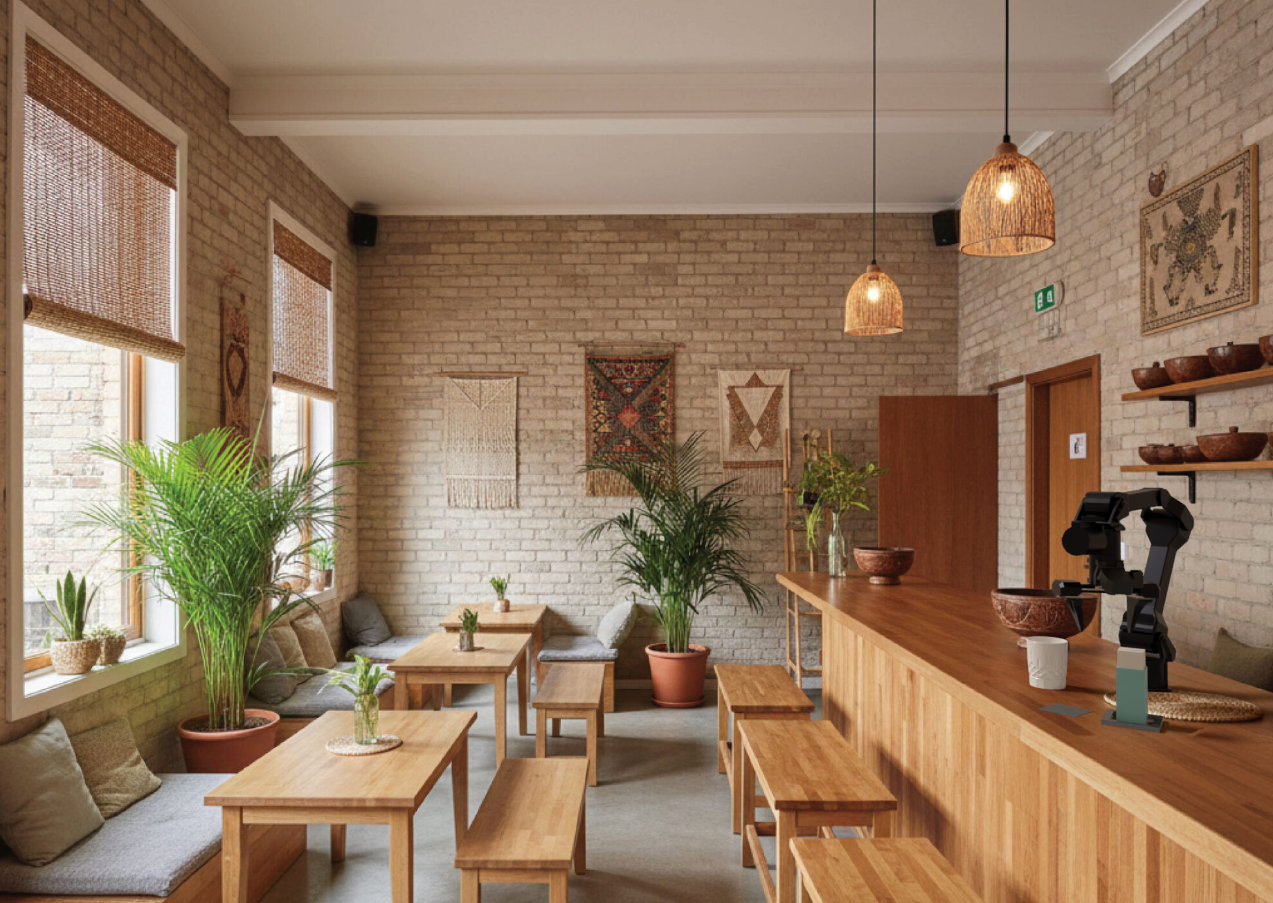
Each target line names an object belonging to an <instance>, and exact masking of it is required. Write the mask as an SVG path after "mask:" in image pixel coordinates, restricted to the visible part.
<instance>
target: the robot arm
mask: <svg viewBox="0 0 1273 903" xmlns="http://www.w3.org/2000/svg"><path fill="white" fill-rule="evenodd" d="M1156 507H1158V508H1156ZM1160 507H1161V508H1160ZM1152 508H1153V509H1152ZM1139 510H1141V512H1140V515H1139V516H1140V519H1141V520H1142V522H1143V523H1144V525H1145V534H1146V536H1147V539H1148V541H1149V543H1150V547H1149V550H1148V555H1147V560H1146V564H1145V567H1144V572H1143V570H1141V569H1130V570H1126V568H1125V563H1124V562H1125V561H1124V560H1122V544H1121V543H1122V536H1121V535H1122V532H1125V531H1127V528H1126V527H1125V525H1124V524H1122V523H1121V521H1122V520H1123V519H1125V518H1127V517H1129V516H1130V513H1131V512H1135V511H1139ZM1070 523H1071V524H1070V525H1071V526H1070V527H1068V528H1067V529H1066V530H1065V531H1064V532H1063V535H1062V537H1061V545H1062V547H1063V549H1064V551H1065V552H1067V554H1069V555H1071V556H1075V557H1079V556H1080V557H1081V556H1088V557H1086V563H1088V577H1086V583H1081V582H1080V581H1077V580H1074V579H1059V578H1058V579H1057V578H1056V579H1054V580H1053V581H1052V583H1051V593H1052V594H1055V595H1057V596H1058V598H1059V599H1062V600H1064V601H1065V602H1066V604H1067V606H1068V608H1069V610H1070V612H1071V614H1072V616H1073V620H1074V622H1075V624H1076V626H1077V629H1078V631H1079V632H1082V633H1083V632H1084V616H1083V612H1084V611H1083V604H1084V598H1082V597H1081V596H1080V595H1081V594H1082V593H1083V594H1107V595H1109V596H1116V595H1119V596H1120V595H1121V596H1122V595H1125V596H1126V611H1124V613H1123V614H1122V620H1121V624H1120V626H1119V631H1118V640H1119V647H1126V648H1136V649H1145V666H1147V682H1148V691H1155V690H1161V691H1160V692H1164V691H1165V692H1172V691H1173V689H1172V688H1171V687H1170V686H1169V670H1168V669H1169V666H1168V663H1173V662H1174V661H1175V660H1176V654H1177V650H1176V647H1175V645H1174V644H1173V643H1172V640H1171V639H1170V638H1169V635H1168V634H1169V627H1168V624H1167V623H1166V619H1165V618H1164V616H1163V614H1164V610H1165V605H1166V604H1165V603H1166V600H1167V595H1168V591H1169V587H1170V582H1171V578H1172V574H1173V569H1174V564H1175V560H1176V556H1177V552H1178V550H1180V549H1181V548H1182V547H1183V546H1184V545H1185V544H1187V542H1188V541H1189V540H1190V536H1191V534H1192V531H1193V530H1194V526H1195V519H1194V517H1193V514H1192V513H1191V512H1190V510H1189V508H1188V507H1187V506H1186V504H1184V503H1183V502H1182V501H1180V500H1179V499H1177V498H1175V497H1174V496H1172V495H1171V493H1170V491H1169V490H1168V489H1166V488H1164V487H1148V486H1147V487H1146V486H1145V487H1142V488H1138V489H1134V490H1127V491H1124V492H1123V491H1100V490H1099V491H1093V490H1091V491H1087V492H1086V493H1085V494H1084V497H1083V498H1082V500H1081V502H1080V505H1079V507H1078V509H1077V512H1076V513H1075V516H1074V519H1073V520H1071V522H1070Z"/></svg>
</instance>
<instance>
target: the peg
mask: <svg viewBox="0 0 1273 903" xmlns="http://www.w3.org/2000/svg"><path fill="white" fill-rule="evenodd" d="M1116 652H1117V654H1116V657H1117V658H1116V660H1117V663H1116V666H1115V706H1116V707H1115V708H1116V709H1115V710H1116V716H1115V717H1116V719H1115V720H1120V721H1127V722H1134V723H1141V724H1148V723H1149V720H1148V714H1149V701H1148V700H1149V697H1148V696H1149V693H1148V692H1149V690H1148V682H1147V666H1145V649H1136V648H1126V647H1121V646H1119V647H1118V649H1117V651H1116Z"/></svg>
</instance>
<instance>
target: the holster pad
mask: <svg viewBox="0 0 1273 903" xmlns="http://www.w3.org/2000/svg"><path fill="white" fill-rule="evenodd" d="M1038 710H1040V711H1042V712H1043V711H1045V712H1048V713H1053V714H1056V715H1062V716H1066V717H1070V718H1077V717H1080V716H1084V715H1087V714H1090V713H1094V710H1089V709H1085V708H1082V707H1081V708H1080V707H1076V706H1072V705H1068V704H1066V705H1065V704H1063V703H1056V702H1055V703H1053V704H1049V705H1046V706H1043V707H1039V708H1038Z"/></svg>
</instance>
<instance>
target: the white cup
mask: <svg viewBox="0 0 1273 903" xmlns="http://www.w3.org/2000/svg"><path fill="white" fill-rule="evenodd" d="M1025 640H1026V653H1027V654H1026V656H1027V658H1026V659H1027V668H1028V669H1027V670H1028V674H1029V675H1028V677H1029V678H1028V679H1029V685H1030V686H1031V687H1034V688H1039V689H1043V690H1064V689H1066V688H1067V678H1066V677H1067V673H1068V672H1067V671H1068V670H1067V669H1068V648H1069V647H1068V646H1069V642H1068V640H1067V639H1064V638H1059V637H1054V636H1053V637H1052V636H1040V635H1039V636H1037V635H1036V636H1028V637H1026V639H1025Z"/></svg>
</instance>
